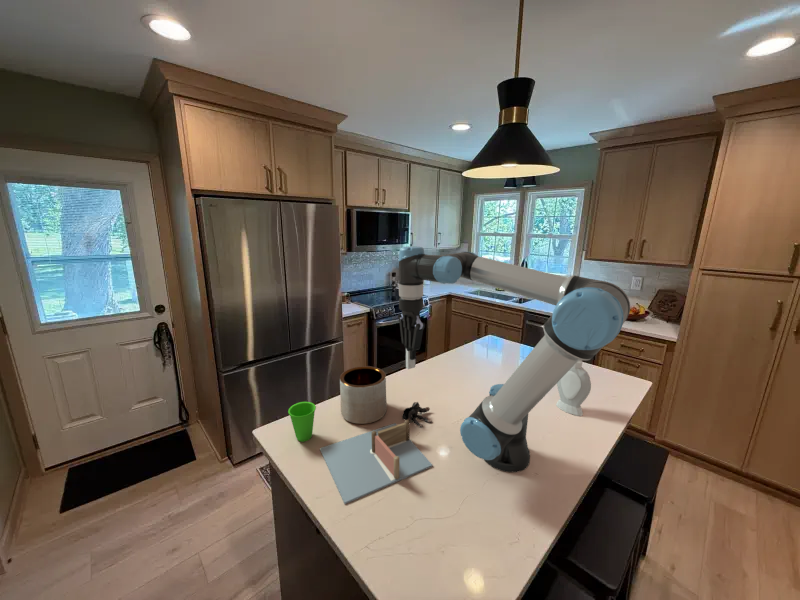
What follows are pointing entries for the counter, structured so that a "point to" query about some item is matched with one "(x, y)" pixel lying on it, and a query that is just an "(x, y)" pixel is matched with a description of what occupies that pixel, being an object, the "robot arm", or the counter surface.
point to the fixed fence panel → (392, 434)
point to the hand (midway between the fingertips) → (410, 367)
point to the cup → (302, 419)
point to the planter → (363, 394)
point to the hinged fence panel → (387, 457)
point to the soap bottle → (573, 389)
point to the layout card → (369, 465)
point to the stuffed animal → (415, 414)
